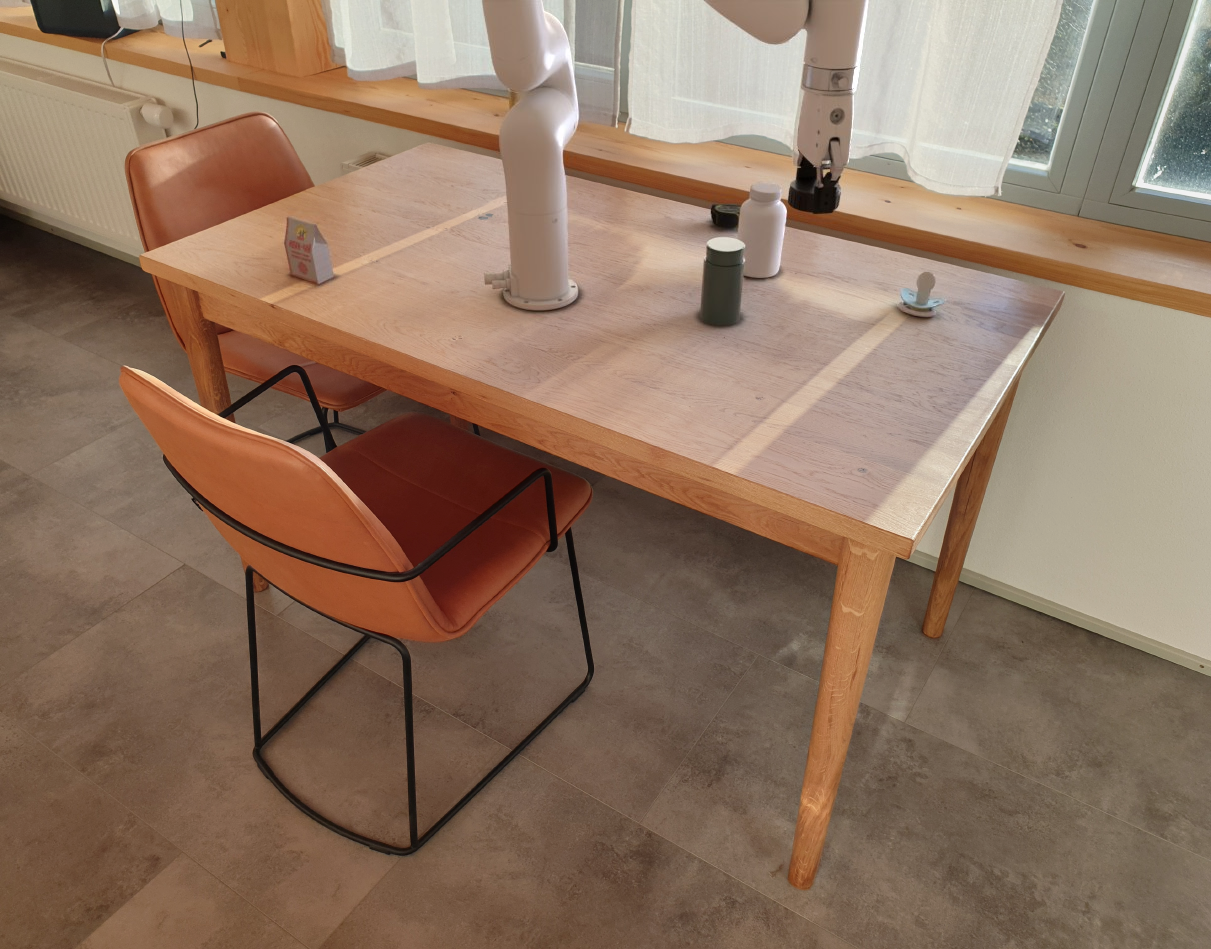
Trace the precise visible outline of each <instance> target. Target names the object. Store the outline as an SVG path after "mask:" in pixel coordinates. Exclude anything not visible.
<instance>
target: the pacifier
mask: <svg viewBox="0 0 1211 949" xmlns="http://www.w3.org/2000/svg"><path fill="white" fill-rule="evenodd" d="M936 282H937V280H936V276H935V274H933V272H930V271H924V272H922V273H920V274H919V275H918V277H917V279H916V287H917V292H916V291H914V290H912V289H910V288H907V287H903V288H901V290H900V293H899V294H900V298H901V300H902V301H899V302H898V303H897V305H896V306H897V308H898V309H899V310H900V311H902V312H904V313H906V314H908V315H912V316H916V317H921V318H930V317H934V316H936V315H937V311H936V310H935V308H936V307H940V306H942V305H943V304H944V303H946V301H947V299H946V298H930V297H931V292H932V290H933V289H934V288H935V286H936ZM906 306H908V307H906Z"/></svg>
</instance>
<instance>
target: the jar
mask: <svg viewBox="0 0 1211 949" xmlns="http://www.w3.org/2000/svg"><path fill="white" fill-rule="evenodd" d="M705 248H706V249H705V255H704V256H703V263H702V264H703V266H702V277H701V278H702V280H701V295H700V307H699V308H700V309H699V318H700V320H701V321H702V322H704V323H705V324H708V325H711V326H718V327H727V326H732V325H734V324H736V323H738V322H739V320H740V315H741V306H742V296H743V286H744V276H745V275H744V266H745V258H744V257H743V256H744V249H745V244H744V243H743V242H742V241H740V240H738V239H737V238H735V237H730V236H729V237H728V236H718V237H714V238H711V239H709V240H707V242H706V244H705Z"/></svg>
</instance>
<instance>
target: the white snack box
mask: <svg viewBox="0 0 1211 949" xmlns="http://www.w3.org/2000/svg"><path fill="white" fill-rule="evenodd" d="M283 244H284V249H285V253H286V259H287V264H288V268H289V273H290V276H292V277H295V278H298V279H301V280H304V281H307V282H311V283H314V284H316V285H319V284H322V283H324V282H326V281H328V280H330V279H332V278H334V277H335V274H334V268H333V264H332V258H331V252H330V246H329V244H328V242H327V240H326V239H325V238H324V236H323V234H322V233H321V231H320V229H319V228H318V225H317V224H315V223H312V222H310V221H309V222H308V221H306V220H301V219H299V218H294V217H291V216H287V217H286V228H285V235H284V242H283Z"/></svg>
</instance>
